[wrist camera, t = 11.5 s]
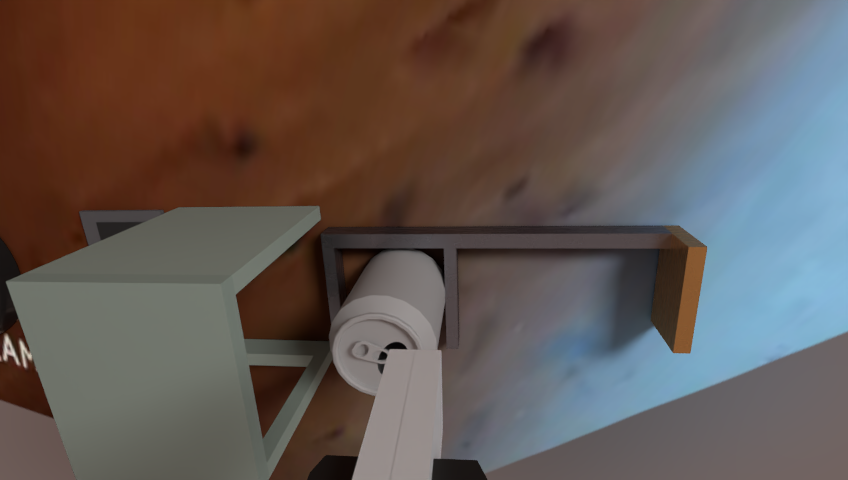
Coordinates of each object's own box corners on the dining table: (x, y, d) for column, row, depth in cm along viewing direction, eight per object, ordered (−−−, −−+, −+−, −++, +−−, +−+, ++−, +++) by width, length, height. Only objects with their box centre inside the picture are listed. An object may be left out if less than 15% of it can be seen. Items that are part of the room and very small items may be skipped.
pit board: (120, 344, 48) (116, 347, 47) (82, 210, 43) (78, 212, 43) (194, 346, 47) (191, 349, 46) (163, 209, 42) (159, 211, 42)
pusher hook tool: (339, 333, 44) (322, 364, 39) (328, 227, 41) (307, 246, 36) (662, 341, 40) (686, 376, 36) (678, 225, 37) (707, 246, 32)
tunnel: (208, 348, 47) (76, 480, 31) (178, 207, 42) (5, 281, 27) (336, 352, 45) (261, 492, 30) (319, 206, 40) (220, 283, 25)
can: (425, 333, 43) (405, 424, 32) (351, 298, 43) (305, 377, 32) (462, 266, 41) (454, 339, 29) (383, 228, 40) (345, 287, 29)
